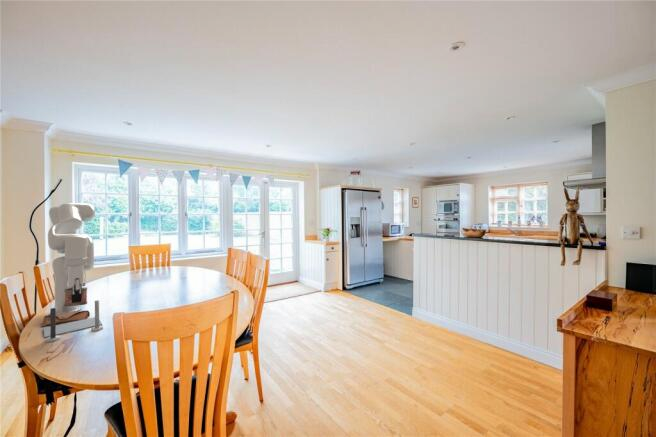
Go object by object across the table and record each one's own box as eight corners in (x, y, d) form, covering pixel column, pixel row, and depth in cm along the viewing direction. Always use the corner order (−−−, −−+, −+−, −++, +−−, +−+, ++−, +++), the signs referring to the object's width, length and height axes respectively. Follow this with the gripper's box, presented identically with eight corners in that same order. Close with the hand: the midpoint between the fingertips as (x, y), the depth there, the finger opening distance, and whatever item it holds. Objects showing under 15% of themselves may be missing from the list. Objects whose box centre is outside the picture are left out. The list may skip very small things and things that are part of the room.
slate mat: (43, 329, 131) (43, 327, 131) (97, 317, 146) (97, 316, 146) (44, 338, 121) (44, 336, 121) (102, 325, 136) (102, 323, 136)
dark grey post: (45, 340, 120) (45, 308, 119) (59, 336, 123) (59, 306, 123) (46, 343, 117) (46, 311, 117) (60, 339, 120) (60, 308, 120)
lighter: (62, 306, 122) (62, 285, 122) (66, 304, 125) (66, 283, 125) (85, 304, 126) (85, 283, 125) (88, 302, 129) (88, 281, 128)
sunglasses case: (38, 328, 132) (40, 314, 135) (42, 330, 137) (44, 317, 140) (86, 320, 142) (88, 307, 144) (89, 323, 147) (90, 310, 150)
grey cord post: (90, 329, 131) (90, 300, 131) (102, 326, 134) (102, 298, 134) (91, 332, 128) (91, 302, 128) (103, 329, 131) (103, 300, 131)
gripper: (63, 260, 128) (63, 298, 128) (66, 265, 117) (66, 307, 117) (84, 258, 133) (84, 295, 134) (89, 263, 122) (89, 303, 123)
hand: (75, 300), depth 125 cm, fingers closed on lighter, 4 cm apart
